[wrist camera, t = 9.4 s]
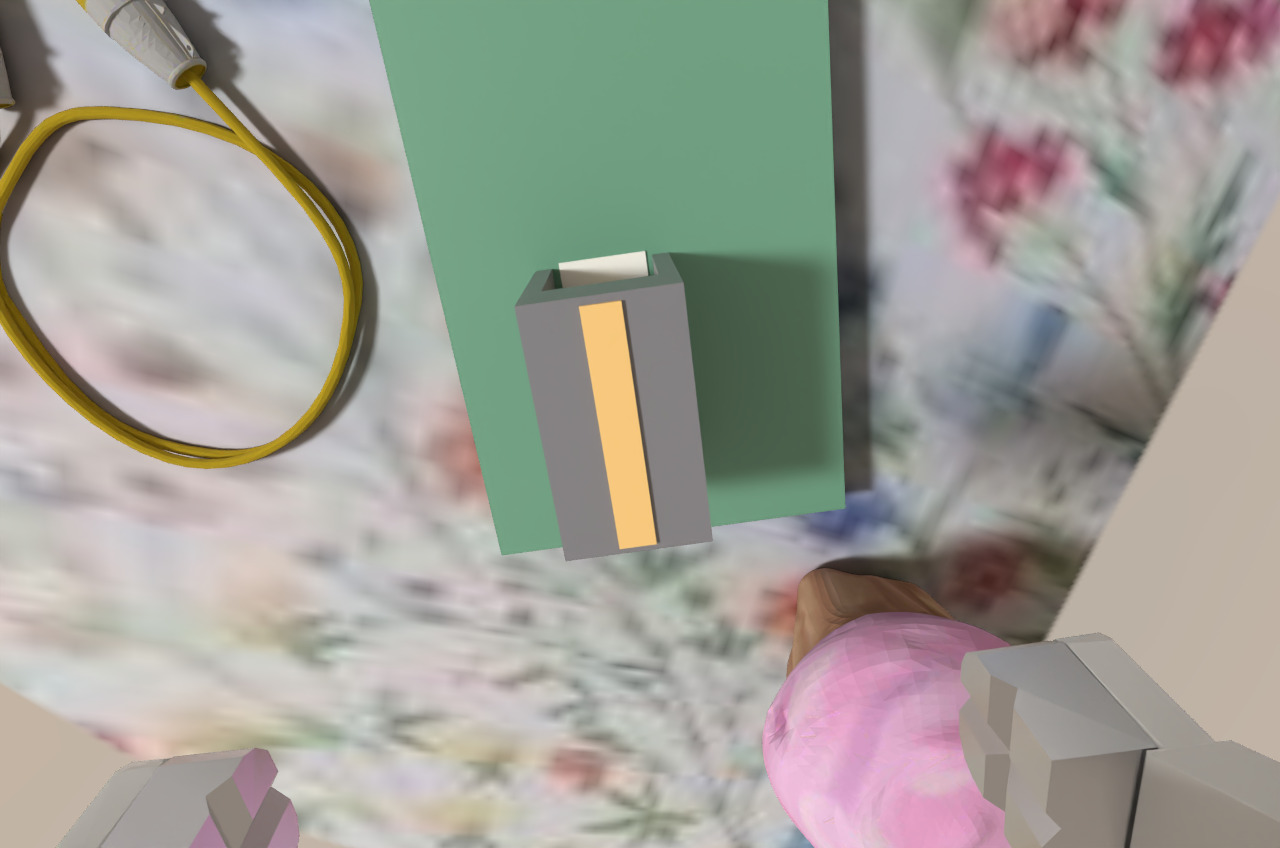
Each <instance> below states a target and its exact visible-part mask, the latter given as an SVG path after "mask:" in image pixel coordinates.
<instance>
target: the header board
mask: <svg viewBox="0 0 1280 848" xmlns="http://www.w3.org/2000/svg"><path fill="white" fill-rule="evenodd" d="M369 1H370V5H371V10H372V14H373V18H374V22H375V26H376V31H377V35H378V39H379V43H380V47H381V51H382V56H383V60H384V64H385V68H386V72H387V77H388V81H389V85H390V89H391V93H392V98H393V102H394V106H395V110H396V114H397V118H398V123H399V127H400V131H401V135H402V139H403V144H404V148H405V152H406V156H407V160H408V165H409V169H410V173H411V177H412V181H413V186H414V190H415V194H416V198H417V202H418V206H419V211H420V215H421V219H422V223H423V227H424V232H425V236H426V240H427V244H428V248H429V253H430V257H431V261H432V265H433V269H434V274H435V278H436V282H437V286H438V290H439V294H440V299H441V303H442V307H443V311H444V315H445V320H446V324H447V328H448V332H449V336H450V341H451V345H452V349H453V353H454V357H455V362H456V366H457V370H458V374H459V378H460V382H461V387H462V391H463V395H464V399H465V403H466V408H467V412H468V416H469V420H470V424H471V429H472V433H473V437H474V441H475V445H476V449H477V454H478V458H479V462H480V466H481V470H482V475H483V479H484V483H485V487H486V491H487V496H488V500H489V504H490V508H491V512H492V517H493V521H494V525H495V529H496V533H497V537H498V542H499V546H500V550H501V554H502V555H508V554H515V553H523V552H530V551H537V550H545V549H552V548H559V547H563V546H562V541H561V536H560V531H559V526H558V521H557V516H556V511H555V506H554V501H553V496H552V491H551V486H550V481H549V476H548V471H547V466H546V461H545V456H544V451H543V446H542V441H541V437H540V432H539V427H538V422H537V417H536V412H535V407H534V402H533V397H532V392H531V387H530V382H529V377H528V372H527V367H526V362H525V357H524V352H523V347H522V342H521V337H520V332H519V327H518V323H517V318H516V313H515V308H514V306H515V304H516V303H517V301H518V300H519V298H520V296H521V295H522V293H523V291H524V290H525V288H526V286H527V285H528V283H529V281H530V280H531V278H532V276H533V275H534V273H535V271H541V270H548V269H552V271H553V277H554V282H555V288H556V289H561V288H568V287H575V286H582V285H589V284H596V283H603V282H610V281H617V280H624V279H631V278H638V277H645V276H652V275H654V270H653V262H652V255H653V254H660V253H667V252H668V253H669V255H670V257H671V259H672V261H673V263H674V265H675V267H676V269H677V271H678V272H679V274H680V276H681V278H682V280H683V282H684V291H685V299H686V308H687V317H688V326H689V335H690V344H691V352H692V361H693V370H694V379H695V388H696V397H697V406H698V414H699V423H700V432H701V441H702V450H703V459H704V467H705V476H706V485H707V494H708V503H709V512H710V521H711V527H713V526H720V525H728V524H735V523H742V522H750V521H757V520H764V519H772V518H779V517H786V516H794V515H801V514H808V513H816V512H823V511H830V510H838V509H845V483H844V454H843V425H842V395H841V366H840V337H839V308H838V279H837V250H836V221H835V192H834V162H833V133H832V104H831V75H830V46H829V17H828V0H369Z"/></svg>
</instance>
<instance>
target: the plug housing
mask: <svg viewBox="0 0 1280 848" xmlns="http://www.w3.org/2000/svg"><path fill="white" fill-rule="evenodd" d="M652 262H653V270H654V275H652V276H645V277H638V278H631V279H624V280H617V281H610V282H603V283H596V284H589V285H582V286H575V287H568V288H561V289H556V288H555V282H554V277H553V271H552V269H548V270H541V271H535V273H534V275H533V276H532V278H531V280H530V281H529V283H528V285H527V286H526V288H525V290H524V291H523V293H522V295H521V296H520V298H519V300H518V301H517V303H516V304H515V306H514V308H515V313H516V318H517V323H518V327H519V332H520V337H521V342H522V347H523V352H524V357H525V362H526V367H527V372H528V377H529V382H530V387H531V392H532V397H533V402H534V407H535V412H536V417H537V422H538V427H539V432H540V437H541V441H542V446H543V451H544V456H545V461H546V466H547V471H548V476H549V481H550V486H551V491H552V496H553V501H554V506H555V511H556V516H557V521H558V526H559V531H560V536H561V541H562V546H563V551H564V555H565V560H566V561H571V560H578V559H586V558H593V557H600V556H608V555H615V554H622V553H630V552H637V551H644V550H652V549H659V548H666V547H674V546H681V545H688V544H696V543H703V542H710V541H713V538H712V529H711V521H710V512H709V503H708V494H707V485H706V476H705V467H704V459H703V450H702V441H701V432H700V423H699V414H698V406H697V397H696V388H695V379H694V370H693V361H692V352H691V344H690V335H689V326H688V317H687V308H686V299H685V291H684V282H683V280H682V278H681V276H680V274H679V272H678V271H677V269H676V267H675V265H674V263H673V261H672V259H671V257H670V255H669V253H668V252H667V253H660V254H653V255H652Z"/></svg>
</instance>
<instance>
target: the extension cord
mask: <svg viewBox="0 0 1280 848" xmlns="http://www.w3.org/2000/svg"><path fill="white" fill-rule="evenodd" d="M76 1H77V2H78V3H79V4H80V5H81V6H82V8H83V9H84V10H85V11H86V12H87V13H88V14H89V15H90V16H91V17H92V18H93V20H94V21H95V22H96V23H97V24H98V25H99V26H100V27H101V28H102V29H103V30H104V32H105V33H106V34H107V35H108V36H109V37H110V38H111V39H113V40H115V41H116V42H117V43H118V44H119V45H120V46H122V47H123V48H124V49H125V50H126V51H127V52H129V53H130V54H131V55H132V56H134V57H135V58H136V59H137V60H139V61H140V62H142V63H143V64H144V65H145V66H147V67H148V68H149V69H150V70H152V71H153V72H154V73H155V74H157V75H158V76H159V77H161V78H162V79H164V80H165V81H166V82H168V83H169V85H170V86H171V88H173V89H176V90H179V89H185V88H188V87H190V86H192V88H193V89H194V90H195V91H196V92H197V93H198V94H199V95H200V96H201V97H202V98H203V99H204V100H205V101H206V102H207V103H208V105H209V106H210V107H211V108H212V109H213V110H214V111H215V112H216V113H217V114H218V115H219V116H220V117H221V118H222V119H223V120H224V122H225V123H226V124H227V125H228V126H229V127H230V128H231V129H232V130H233V131H234V132H233V131H230V130H228V129H225V128H222V127H220V126H217V125H215V124H212V123H209V122H205V121H201V120H198V119H194V118H190V117H186V116H182V115H178V114H173V113H165V112H158V111H151V110H144V109H134V108H121V107H108V106H97V107H78V108H72V109H69V110H65V111H62V112H59V113H57V114H55V115H53V116H51V117H49V118H47V119H45V120H44V121H43V122H42V123H40V124H39V125H38V126H37V127H36V128H35V129H34V130H33V131H32V132H31V133H30V135H29V136H28V137H27V138H26V140H25V141H24V142H23V143H22V144H21V146H20V147H19V149H18V151H17V152H16V154H15V156H14V158H13V159H12V161H11V163H10V165H9V166H8V168H7V170H6V172H5V173H4V175H3V177H2V178H1V180H0V227H1V220H2V211H3V209H4V207H5V205H6V203H7V201H8V199H9V197H10V195H11V193H12V191H13V189H14V187H15V185H16V183H17V182H18V180H19V178H20V176H21V175H22V173H23V171H24V170H25V168H26V166H27V164H28V163H29V161H30V159H31V158H32V156H33V154H34V153H35V152H36V150H37V149H38V148H39V147H40V146H41V144H42V143H43V142H44V141H45V140H46V138H48V137H49V136H50V135H51V134H52V133H53V132H54V131H56V130H57V129H59V128H60V127H62V126H63V125H65V124H68V123H72V122H75V121H78V120H89V119H119V120H134V121H145V122H152V123H159V124H166V125H173V126H178V127H182V128H186V129H189V130H193V131H197V132H201V133H205V134H208V135H211V136H214V137H216V138H219V139H222V140H224V141H227V142H230V143H232V144H235V145H237V146H239V147H241V148H243V149H245V150H247V151H249V152H251V153H253V154H255V155H256V156H257V157H258V158H259V159H260V160H261V161H262V162H263V163H264V164H265V165H266V166H267V167H268V168H269V169H270V170H271V172H272V173H273V174H274V175H275V176H276V177H277V179H278V180H279V181H280V182H281V183H282V184H283V185H284V187H285V188H286V189H287V190H288V191H289V192H290V194H291V195H292V196H293V197H294V198H295V199H296V200H297V202H298V203H299V204H300V205H301V206H302V207H303V209H304V210H305V212H306V213H307V214H308V216H309V217H310V219H311V220H312V221H313V223H314V224H315V226H316V227H317V229H318V230H319V231H320V233H321V235H322V236H323V238H324V240H325V241H326V243H327V245H328V247H329V248H330V250H331V252H332V255H333V257H334V259H335V261H336V264H337V266H338V270H339V273H340V277H341V280H342V286H343V295H344V310H343V321H342V328H341V334H340V341H339V346H338V349H337V352H336V356H335V359H334V362H333V365H332V368H331V371H330V373H329V375H328V377H327V380H326V382H325V384H324V386H323V388H322V390H321V392H320V394H319V395H318V396H317V398H316V399H315V401H314V402H313V404H312V405H311V407H310V408H309V410H308V411H307V412H306V413H305V414H304V415H303V416H302V417H301V419H300V420H299V421H298V422H297V423H296V424H295V425H294V426H293V427H292V428H290V429H289V430H288V431H286V432H285V433H284V434H283V435H281V436H280V437H279V438H277V439H276V440H274V441H272V442H270V443H267V444H265V445H262V446H258V447H254V448H250V449H240V450H216V449H209V448H202V447H195V446H188V445H184V444H180V443H176V442H172V441H168V440H164V439H160V438H157V437H155V436H152V435H149V434H147V433H144V432H141V431H139V430H137V429H135V428H133V427H131V426H129V425H127V424H125V423H123V422H121V421H119V420H118V419H116V418H115V417H113V416H112V415H110V414H109V413H107V412H106V411H104V410H103V409H102V408H100V407H99V406H98V405H97V404H95V403H94V402H93V401H92V400H90V399H89V398H88V397H87V396H86V395H85V394H84V393H83V392H82V391H81V390H80V389H79V388H78V387H77V386H76V385H75V384H74V383H73V382H72V381H71V380H70V379H69V378H68V377H67V375H66V374H65V373H64V372H63V370H62V369H61V368H60V367H59V365H58V364H57V363H56V362H55V360H54V359H53V358H52V356H51V355H50V354H49V353H48V351H47V350H46V349H45V348H44V346H43V345H42V343H41V342H40V340H39V339H38V337H37V336H36V335H35V333H34V332H33V330H32V329H31V327H30V326H29V324H28V323H27V322H26V320H25V319H24V317H23V316H22V314H21V313H20V311H19V310H18V309H17V307H16V306H15V304H14V303H13V301H12V300H11V298H10V297H9V296H8V293H7V290H6V288H5V285H4V282H3V279H2V273H1V263H0V324H1V325H2V327H3V329H4V330H5V332H6V334H7V335H8V337H9V338H10V339H11V341H12V342H13V344H14V345H15V346H16V348H17V349H18V350H19V352H20V353H21V354H22V356H23V357H24V358H25V360H26V361H27V362H28V363H29V364H30V365H31V367H32V368H33V369H34V370H35V371H36V372H37V373H38V374H39V376H40V377H41V378H42V379H43V380H44V381H45V382H46V383H47V384H48V385H49V386H50V387H51V388H52V389H53V390H54V391H55V392H56V393H57V394H58V395H59V396H60V397H61V398H62V399H63V400H64V401H65V402H66V403H67V404H69V405H70V406H71V407H72V408H74V409H75V410H76V411H77V412H79V413H80V414H81V415H82V416H83V417H85V418H86V419H87V420H88V421H90V422H91V423H92V424H94V425H95V426H97V427H98V428H100V429H101V430H103V431H104V432H106V433H107V434H109V435H110V436H112V437H113V438H115V439H116V440H118V441H120V442H122V443H124V444H126V445H128V446H129V447H131V448H133V449H135V450H137V451H139V452H141V453H143V454H146V455H148V456H151V457H154V458H156V459H159V460H161V461H164V462H167V463H171V464H175V465H179V466H184V467H190V468H203V469H211V468H226V467H232V466H237V465H241V464H246V463H250V462H252V461H255V460H258V459H260V458H263V457H265V456H268V455H270V454H271V453H273V452H275V451H277V450H278V449H280V448H282V447H284V446H285V445H287V444H288V443H289V442H291V441H292V440H294V439H296V438H297V437H298V436H299V435H300V434H302V433H303V432H304V431H305V430H306V429H307V428H309V426H310V425H311V424H312V423H313V422H314V421H315V420H316V418H317V417H318V416H319V415H320V414H321V412H322V411H323V409H324V408H325V406H326V405H327V403H328V401H329V400H330V398H331V397H332V395H333V393H334V391H335V389H336V387H337V385H338V383H339V381H340V379H341V376H342V373H343V371H344V368H345V365H346V363H347V360H348V357H349V354H350V350H351V346H352V343H353V339H354V335H355V331H356V326H357V322H358V317H359V313H360V308H361V304H362V292H363V279H362V272H361V265H360V261H359V258H358V254H357V251H356V248H355V245H354V242H353V240H352V238H351V236H350V234H349V232H348V230H347V228H346V226H345V224H344V222H343V220H342V219H341V217H340V216H339V214H338V213H337V212H336V210H335V209H334V207H333V206H332V204H331V203H330V202H329V200H328V199H327V198H326V197H325V196H324V195H323V194H322V193H321V192H320V190H319V189H318V188H317V187H316V186H315V185H314V184H313V183H312V182H311V181H310V180H309V179H308V178H306V177H305V176H304V175H303V174H302V173H301V172H299V171H298V170H297V169H296V168H295V167H294V166H292V165H291V164H290V163H288V162H287V161H285V160H284V159H282V158H281V157H279V156H278V155H276V154H275V153H273V152H272V151H270V150H269V149H267V148H266V147H264V146H263V145H262V144H261V143H260V142H259V141H258V140H257V139H256V138H255V137H254V136H253V135H252V134H251V133H250V131H249V130H248V129H247V128H246V127H245V126H244V125H243V124H242V123H241V122H240V121H239V120H238V119H237V118H236V116H235V115H234V114H233V113H232V112H231V111H230V110H229V109H228V108H227V107H226V106H225V105H224V104H223V102H222V101H221V100H220V99H219V98H218V97H217V96H216V95H215V94H214V93H213V92H212V91H211V90H210V89H209V87H208V86H207V85H206V84H205V83H204V82H203V81H202V80H201V77H202V76H203V75H204V74H205V72H206V69H207V64H206V62H205V61H204V60H203V59H201V58H200V56H199V54H198V53H197V51H196V50H195V48H194V46H193V45H192V43H191V41H190V40H189V38H188V37H187V35H186V34H185V32H184V30H183V29H182V28H181V26H180V24H179V22H178V21H177V20H176V18H175V16H174V15H173V13H172V12H171V11H170V10H169V8H168V7H167V5H166V2H165V1H164V0H76ZM15 102H16V101H15V100H14V99H13V98H12V96H11V90H10V85H9V80H8V76H7V71H6V67H5V64H4V59H3V56H2V51H1V47H0V109H2V108H7V107H11V106H13V105H14V104H15ZM298 185H299V186H300V187H302V188H303V189H304V190H305V191H306V192H307V193H308V194H309V195H310V196H311V198H312V199H313V200H314V201H315V202H316V203H317V204H318V205H319V206H320V207H321V209H322V210H323V211H324V213H325V214H326V216H327V217H328V219H329V220H330V222H331V223H332V224H333V226H334V228H335V230H336V232H337V234H338V236H339V238H340V240H341V242H342V244H343V246H344V249H345V252H346V255H347V258H348V261H349V265H350V269H349V265H348V262H347V259H346V257H345V254H344V252H343V249H342V247H341V245H340V243H339V241H338V239H337V238H336V236H335V234H334V232H333V231H332V229H331V227H330V226H329V224H328V223H327V222H326V220H325V219H324V217H323V216H322V215H321V213H320V212H319V210H318V209H317V208H316V206H315V205H314V203H313V202H312V201H311V200H310V199H309V197H308V196H307V195H306V194H305V193H304V191H303V190H302V189H301V188H300V187H299V186H298ZM164 450H166V451H164ZM167 451H170V452H174V453H178V454H182V455H189V456H196V457H202V458H209V459H198V458H189V457H185V456H180V455H176V454H172V453H170V452H167Z"/></svg>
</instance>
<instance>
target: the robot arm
mask: <svg viewBox="0 0 1280 848" xmlns="http://www.w3.org/2000/svg"><path fill="white" fill-rule="evenodd" d="M961 682H962V684H963V685H964V687H965V688H966V690H967V691H968V693H969V695H970V696H971V697H970V698H969V699H968V701H967V702H966V703H965V704H964V705H963V707H962V708H961V709H960V710H959V735H960V739H961V744H962V748H963V753H964V758H965V760H966V763H967V765H968V768H969V770H970V773H971V775H972V778H973V780H974V781H975V783H976V785H977V787H978V789H979V791H980V792H981V794H982V796H983V798H985V799H986V800H988V801H989V802H991V803H992V804H994V805H995V806H997V807H998V808H1000V809H1001V810H1003V811H1004V812H1005V823H1004V835H1005V837H1006V839H1007V841H1008V842H1009V844H1010V846H1011V848H1280V762H1277V761H1275V760H1273V759H1271V758H1269V757H1266V756H1264V755H1262V754H1260V753H1258V752H1256V751H1253V750H1251V749H1249V748H1247V747H1245V746H1242V745H1240V744H1238V743H1236V742H1234V741H1231V740H1229V741H1221V742H1215V741H1214V740H1213V739H1212V738H1211V737H1210V736H1209V735H1208V734H1207V733H1206V732H1205V731H1204V730H1203V729H1202V728H1201V727H1200V726H1199V725H1198V724H1197V723H1196V722H1195V721H1194V720H1193V719H1192V718H1191V717H1190V716H1189V715H1188V714H1187V713H1186V712H1185V711H1184V710H1183V709H1182V708H1181V707H1180V706H1179V705H1178V704H1177V703H1176V702H1175V701H1174V700H1173V699H1172V698H1171V697H1170V696H1169V695H1168V694H1167V693H1166V692H1165V691H1164V690H1163V689H1162V688H1161V687H1160V686H1159V685H1158V684H1157V683H1156V682H1155V681H1154V680H1153V679H1152V678H1151V677H1150V676H1149V675H1148V674H1147V673H1146V672H1145V671H1144V670H1143V669H1142V668H1141V667H1139V665H1138V664H1137V663H1136V662H1135V661H1134V660H1133V659H1131V657H1130V656H1129V655H1128V654H1127V653H1126V652H1125V651H1124V650H1123V649H1122V648H1120V647H1119V646H1118V645H1117V644H1116V643H1115V642H1114V641H1113V640H1112V639H1111V638H1110V637H1107V636H1105V635H1103V634H1101V633H1094V634H1088V635H1081V636H1074V637H1068V638H1060V639H1055V640H1053V641H1044V642H1037V643H1030V644H1023V645H1016V646H1009V647H1001V648H994V649H987V650H980V651H973V652H966V654H965V656H964V658H963V660H962V663H961ZM277 773H278V770H277V768H276V766H275V764H274V762H273V760H272V758H271V756H270V754H269V752H268V750H264V749H258V748H250V749H241V750H231V751H222V752H213V753H204V754H194V755H185V756H176V757H173V758H169V759H158V760H148V761H138V762H131V763H130V764H128V765H126V766H124V767H123V768H121V769H119V770H117V771H116V772H115V773H114V774H113V776H112V777H111V778H110V779H109V781H108V782H107V783H106V784H105V786H104V787H103V788H102V789H101V791H100V792H99V793H98V795H97V796H96V797H95V798H94V800H93V801H92V802H91V803H90V805H89V806H88V807H87V809H86V810H85V811H84V812H83V814H82V815H81V816H80V817H79V819H78V820H77V821H76V823H75V824H74V825H73V826H72V828H71V829H70V830H69V831H68V833H67V834H66V835H65V836H64V838H63V839H62V840H61V842H60V843H59V844H58V846H57V847H56V848H298V842H299V827H298V819H297V814H296V812H295V809H294V807H293V804H292V802H291V799H289V798H288V797H286V796H285V795H283V794H282V793H280V792H279V791H277V790H276V789H274V788H272V787H271V786H272V784H273V782H274V780H275V777H276V775H277Z"/></svg>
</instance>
